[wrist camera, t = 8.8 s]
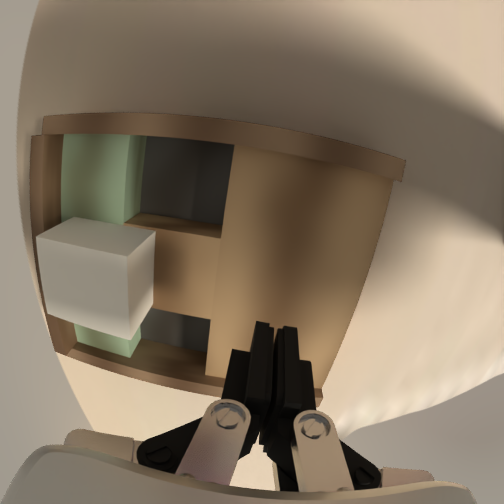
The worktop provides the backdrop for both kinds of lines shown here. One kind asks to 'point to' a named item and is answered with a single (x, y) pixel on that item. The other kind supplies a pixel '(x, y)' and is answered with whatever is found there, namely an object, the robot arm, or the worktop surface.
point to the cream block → (98, 274)
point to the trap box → (216, 234)
